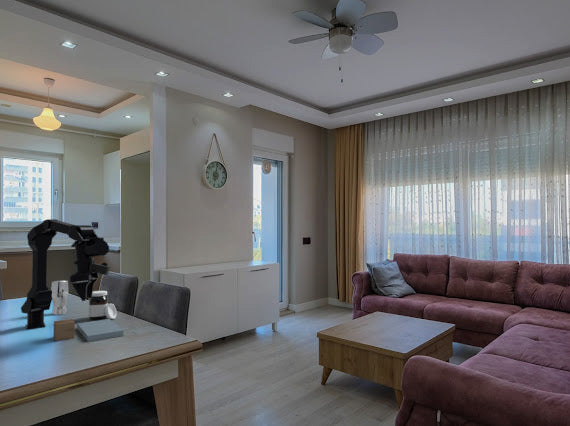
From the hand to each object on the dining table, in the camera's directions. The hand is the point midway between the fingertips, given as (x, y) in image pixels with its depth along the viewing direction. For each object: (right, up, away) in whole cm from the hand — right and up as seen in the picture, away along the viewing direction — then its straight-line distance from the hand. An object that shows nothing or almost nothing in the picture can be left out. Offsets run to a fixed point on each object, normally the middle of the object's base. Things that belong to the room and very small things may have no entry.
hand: (87, 299), depth 144 cm
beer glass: (-31, -15, +35) cm, 50 cm away
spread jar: (-6, -15, +26) cm, 30 cm away
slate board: (+3, -14, +4) cm, 14 cm away
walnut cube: (-7, -13, -4) cm, 15 cm away
